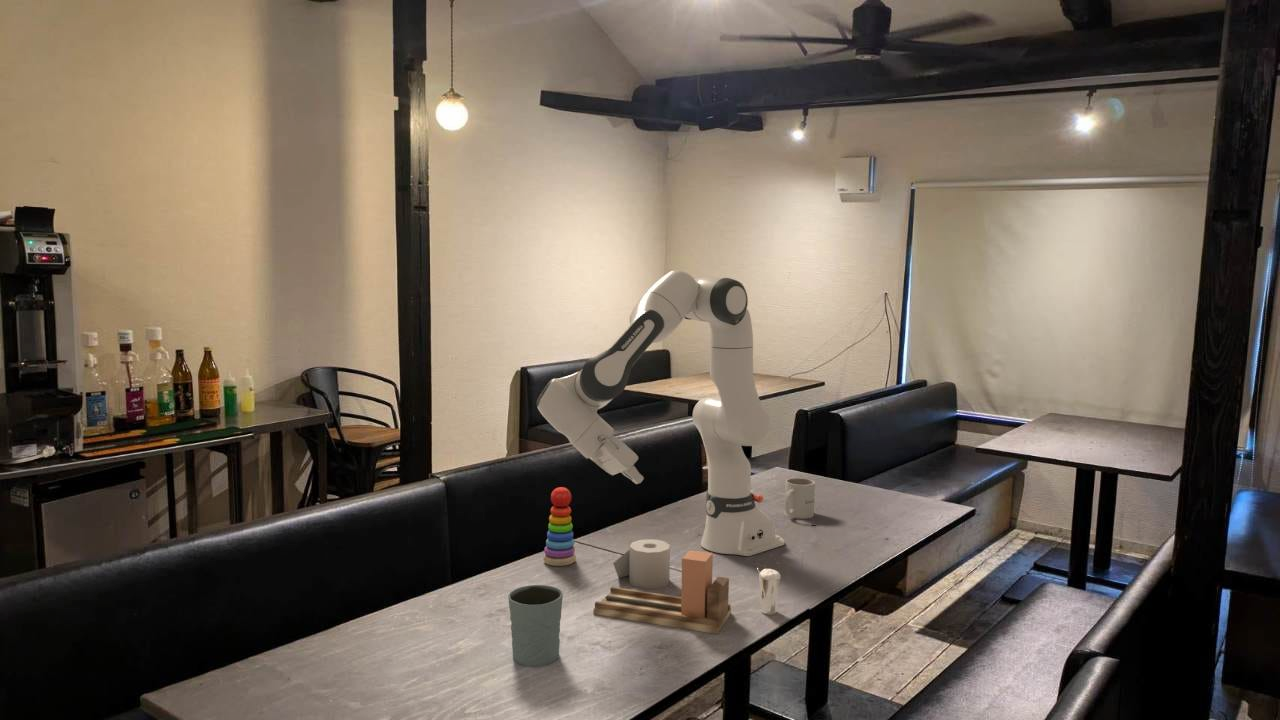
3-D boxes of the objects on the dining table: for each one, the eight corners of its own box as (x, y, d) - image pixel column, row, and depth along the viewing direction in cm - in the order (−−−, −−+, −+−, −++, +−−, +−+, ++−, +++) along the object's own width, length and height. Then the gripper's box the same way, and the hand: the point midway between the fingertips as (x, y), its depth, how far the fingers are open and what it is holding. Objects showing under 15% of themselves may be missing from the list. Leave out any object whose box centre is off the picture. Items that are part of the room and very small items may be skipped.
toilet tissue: (610, 576, 198) (610, 541, 198) (665, 573, 201) (666, 538, 200) (615, 590, 190) (616, 554, 189) (673, 587, 192) (674, 551, 191)
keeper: (681, 615, 173) (682, 558, 172) (688, 605, 178) (689, 550, 177) (704, 618, 171) (705, 561, 170) (711, 608, 176) (712, 553, 175)
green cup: (516, 672, 151) (516, 608, 150) (502, 648, 160) (502, 588, 159) (570, 662, 155) (570, 599, 154) (553, 640, 164) (553, 580, 163)
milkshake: (750, 610, 180) (751, 564, 179) (772, 606, 182) (773, 561, 181) (761, 618, 175) (763, 572, 174) (783, 614, 178) (785, 568, 176)
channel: (593, 613, 177) (593, 576, 176) (612, 595, 187) (613, 559, 186) (717, 634, 168) (718, 594, 167) (731, 613, 178) (731, 575, 177)
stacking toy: (570, 568, 203) (570, 493, 201) (539, 565, 205) (539, 490, 203) (579, 557, 211) (579, 484, 209) (549, 555, 212) (549, 482, 210)
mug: (797, 508, 256) (798, 476, 255) (819, 515, 250) (820, 482, 249) (770, 515, 249) (771, 482, 247) (792, 522, 242) (794, 488, 241)
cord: (605, 600, 181) (605, 595, 181) (606, 598, 182) (606, 594, 182) (712, 616, 173) (712, 612, 173) (713, 615, 174) (713, 610, 174)
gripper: (613, 422, 178) (660, 467, 178) (597, 434, 197) (640, 474, 197) (593, 444, 176) (641, 489, 176) (579, 453, 195) (622, 494, 196)
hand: (640, 481), depth 187 cm, fingers closed
